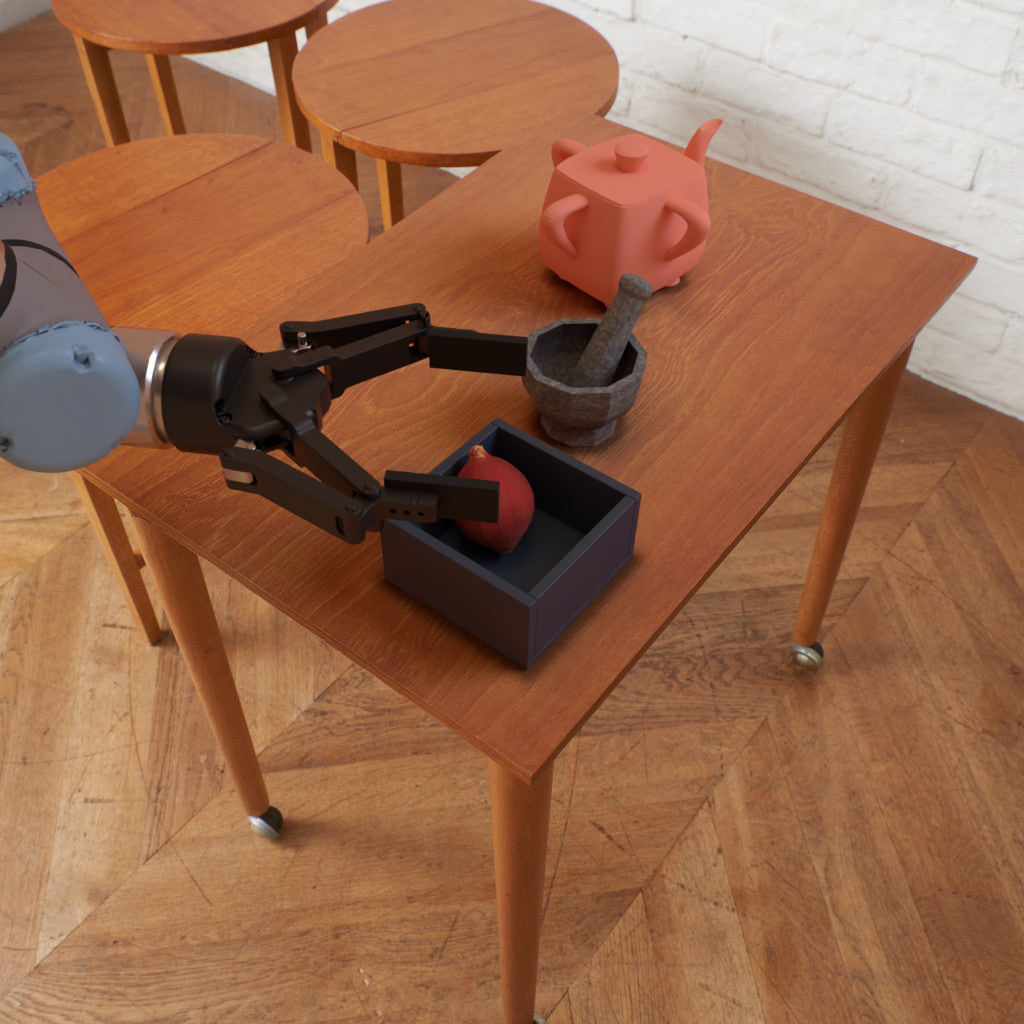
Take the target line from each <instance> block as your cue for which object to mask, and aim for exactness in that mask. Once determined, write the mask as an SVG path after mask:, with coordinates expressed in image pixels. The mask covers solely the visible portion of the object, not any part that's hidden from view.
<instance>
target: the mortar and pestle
mask: <svg viewBox="0 0 1024 1024" xmlns="http://www.w3.org/2000/svg"><path fill="white" fill-rule="evenodd" d="M618 285H619V289H618V291H617V293H616V295H615V297H614V299H613V300H612V302H611V304H610V306H609V308H606V311H605V313H604V315H603V317H602V319H601V318H598V317H579V318H575V317H574V318H558V319H556V320H554V321H552V322H549V323H547V324H545V325H544V326H542V327H539V328H537V329H535V330H533V331H531V332H530V333H529V334H528V336H527V337H528V353H527V372H526V377H522V376H520V377H521V383H522V386H523V387H524V389H525V391H526V392H527V394H528V395H529V397H530V399H531V400H532V402H533V404H534V405H535V407H536V408H537V410H538V412H539V413H540V415H541V416H540V424H541V426H542V427H543V429H544V430H545V432H546V434H547V436H548V437H549V438H550V439H552V440H555V441H556V442H559V443H561V444H564V445H566V446H567V447H573V448H574V447H595V446H597V445H598V444H601V443H602V442H604V441H606V440H607V439H610V438H611V437H613V435H614V431H615V428H616V425H617V422H618V419H620V418H621V417H624V416H625V415H626V414H627V413H628V412H629V411H630V410H631V409H632V408H633V407H634V406H635V403H636V402H637V401H636V400H637V399H638V395H639V393H640V388H641V385H642V383H643V377H644V374H645V370H646V367H647V360H648V351H647V350H646V349H645V347H644V346H643V345H642V344H641V342H640V341H639V339H638V338H637V337H636V336H635V335H634V334H633V330H634V328H635V325H636V324H637V323H636V322H637V321H638V319H639V316H640V314H641V311H642V310H643V306H644V304H645V302H646V301H648V300H649V299H651V297H652V295H653V286H652V285H651V284H650V283H649V282H648V281H646V280H645V279H643V278H641V277H639V276H636V275H633V274H628V273H625V274H623V275H622V276H621V278H620V280H619V282H618Z"/></svg>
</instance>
